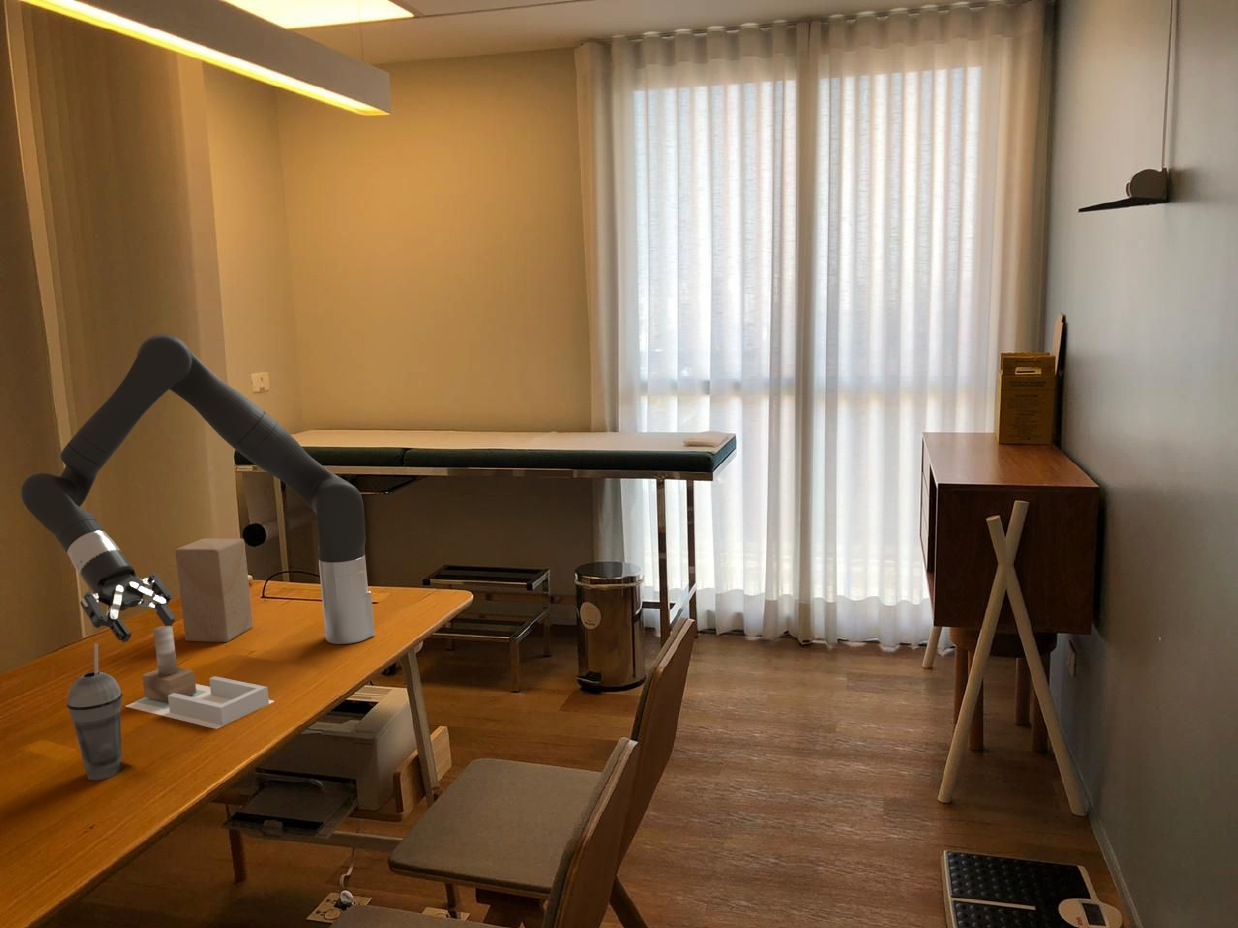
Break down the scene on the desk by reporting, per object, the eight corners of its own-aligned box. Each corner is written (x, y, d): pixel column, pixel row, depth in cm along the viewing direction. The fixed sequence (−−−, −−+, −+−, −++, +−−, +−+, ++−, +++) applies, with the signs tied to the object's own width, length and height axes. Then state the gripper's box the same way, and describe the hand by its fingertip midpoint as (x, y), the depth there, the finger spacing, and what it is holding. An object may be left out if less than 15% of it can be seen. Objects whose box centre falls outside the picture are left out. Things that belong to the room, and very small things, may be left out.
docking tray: (275, 709, 166) (273, 684, 165) (217, 737, 156) (214, 710, 155) (186, 689, 177) (183, 665, 176) (125, 714, 166) (122, 689, 166)
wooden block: (227, 642, 202) (216, 549, 199) (184, 641, 204) (173, 549, 201) (254, 627, 212) (244, 537, 209) (213, 626, 214) (203, 537, 211)
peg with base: (196, 692, 170) (188, 626, 168) (171, 703, 166) (163, 635, 164) (170, 686, 173) (162, 622, 171) (145, 696, 169) (136, 630, 167)
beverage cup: (90, 763, 148) (73, 637, 145) (139, 759, 149) (123, 634, 145) (67, 786, 141) (49, 654, 138) (119, 782, 141) (102, 651, 138)
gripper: (69, 558, 165) (120, 631, 161) (144, 539, 177) (193, 606, 174) (54, 585, 168) (104, 657, 165) (129, 565, 181) (177, 631, 177)
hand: (150, 631), depth 169 cm, fingers open, 8 cm apart
